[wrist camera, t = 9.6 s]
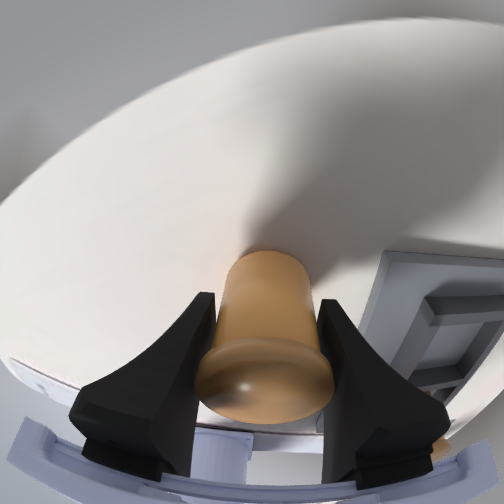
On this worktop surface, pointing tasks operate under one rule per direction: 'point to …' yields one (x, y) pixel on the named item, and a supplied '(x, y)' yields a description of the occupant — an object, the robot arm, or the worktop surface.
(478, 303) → the housing
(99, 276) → the worktop surface
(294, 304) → the jaw peg
